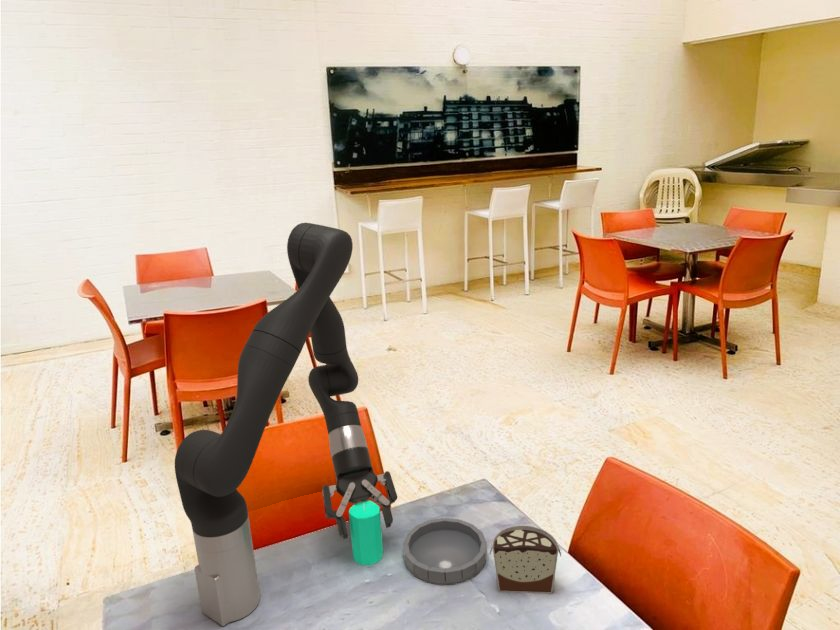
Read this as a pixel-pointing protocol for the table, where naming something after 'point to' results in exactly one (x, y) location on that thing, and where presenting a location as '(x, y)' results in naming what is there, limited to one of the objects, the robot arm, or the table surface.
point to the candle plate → (445, 551)
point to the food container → (525, 560)
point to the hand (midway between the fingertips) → (367, 532)
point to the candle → (366, 532)
